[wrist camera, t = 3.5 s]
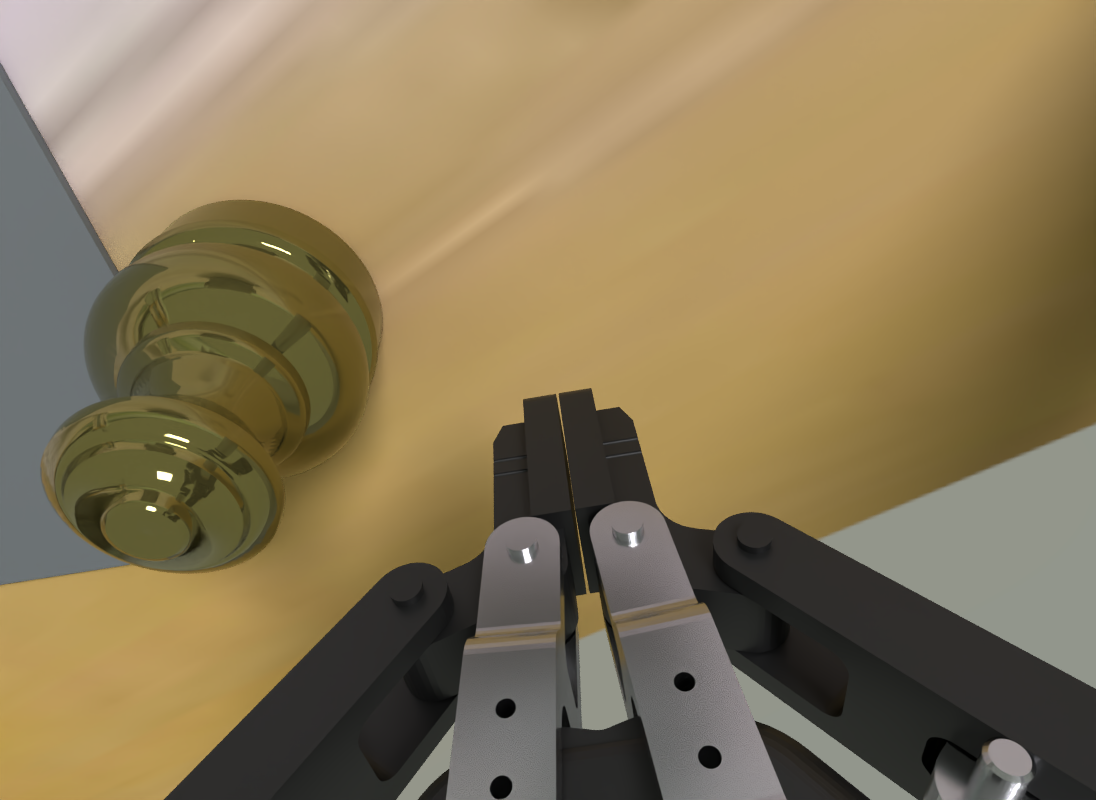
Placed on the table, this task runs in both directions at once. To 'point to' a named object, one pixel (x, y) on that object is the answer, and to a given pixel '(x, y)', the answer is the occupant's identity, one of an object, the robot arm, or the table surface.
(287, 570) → the table surface
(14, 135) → the mat
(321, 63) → the table surface
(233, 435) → the brass door knob
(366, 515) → the table surface
